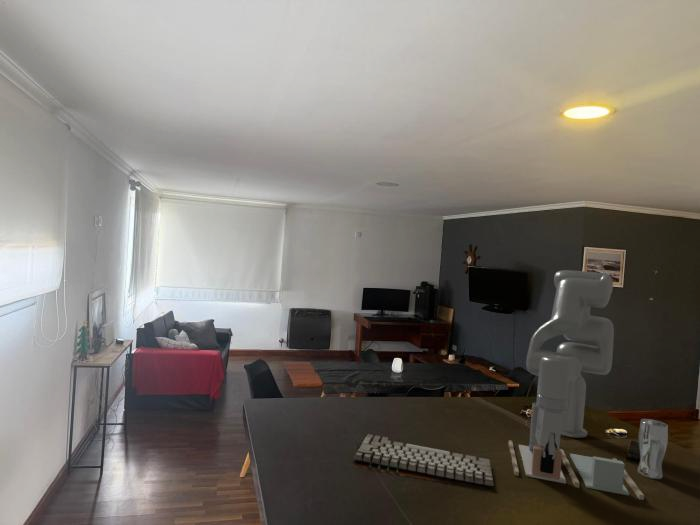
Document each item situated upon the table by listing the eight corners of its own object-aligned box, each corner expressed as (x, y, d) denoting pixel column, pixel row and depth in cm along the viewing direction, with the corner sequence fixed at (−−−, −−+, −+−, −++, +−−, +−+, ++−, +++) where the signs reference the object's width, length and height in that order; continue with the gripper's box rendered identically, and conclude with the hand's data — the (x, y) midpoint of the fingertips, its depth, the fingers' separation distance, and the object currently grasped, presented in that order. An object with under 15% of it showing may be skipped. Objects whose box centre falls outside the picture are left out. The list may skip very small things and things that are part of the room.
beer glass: (630, 468, 137) (634, 417, 137) (652, 469, 138) (656, 419, 138) (647, 479, 130) (651, 426, 130) (670, 480, 131) (675, 427, 131)
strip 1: (518, 446, 147) (520, 422, 147) (552, 452, 145) (554, 428, 145) (526, 476, 126) (528, 448, 126) (566, 483, 123) (568, 455, 123)
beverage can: (547, 458, 137) (550, 407, 138) (528, 454, 139) (532, 404, 140) (546, 452, 142) (550, 403, 142) (529, 449, 144) (532, 400, 144)
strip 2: (569, 455, 143) (572, 430, 143) (605, 461, 141) (607, 436, 141) (586, 487, 122) (589, 458, 122) (629, 495, 120) (631, 466, 119)
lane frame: (508, 443, 149) (508, 439, 149) (615, 462, 141) (616, 458, 141) (514, 475, 126) (515, 471, 126) (643, 500, 118) (644, 495, 118)
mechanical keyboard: (490, 464, 134) (491, 452, 134) (496, 496, 115) (497, 482, 115) (362, 442, 142) (362, 431, 142) (348, 469, 123) (349, 456, 123)
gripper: (533, 393, 135) (527, 456, 135) (540, 408, 119) (534, 480, 119) (561, 397, 133) (555, 461, 133) (572, 413, 117) (566, 486, 117)
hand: (545, 469), depth 126 cm, fingers closed on strip 1, 2 cm apart
